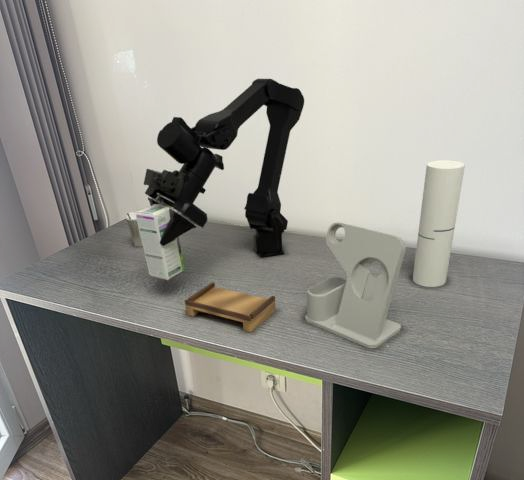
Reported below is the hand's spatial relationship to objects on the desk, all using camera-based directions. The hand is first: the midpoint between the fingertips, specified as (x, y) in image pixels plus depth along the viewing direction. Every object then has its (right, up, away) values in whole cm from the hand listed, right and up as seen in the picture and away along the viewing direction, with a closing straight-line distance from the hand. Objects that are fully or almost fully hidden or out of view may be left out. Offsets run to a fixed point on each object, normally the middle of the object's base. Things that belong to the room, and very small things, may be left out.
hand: (154, 239), depth 104 cm
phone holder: (+40, -18, -7) cm, 45 cm away
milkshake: (-12, +6, +36) cm, 38 cm away
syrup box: (+2, -6, +5) cm, 8 cm away
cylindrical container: (+60, -8, +7) cm, 61 cm away
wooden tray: (+16, -16, -1) cm, 23 cm away
